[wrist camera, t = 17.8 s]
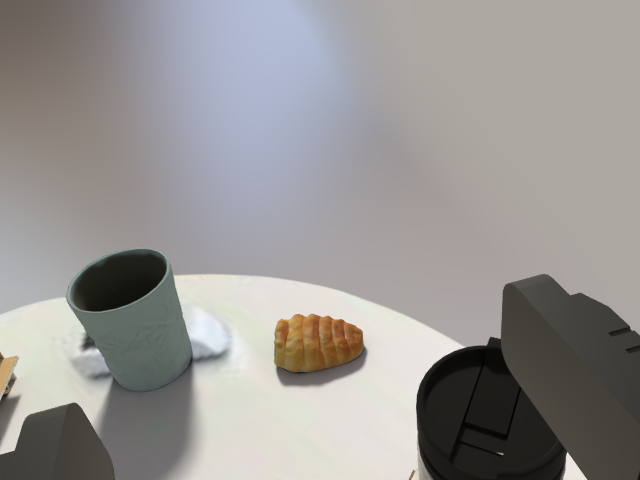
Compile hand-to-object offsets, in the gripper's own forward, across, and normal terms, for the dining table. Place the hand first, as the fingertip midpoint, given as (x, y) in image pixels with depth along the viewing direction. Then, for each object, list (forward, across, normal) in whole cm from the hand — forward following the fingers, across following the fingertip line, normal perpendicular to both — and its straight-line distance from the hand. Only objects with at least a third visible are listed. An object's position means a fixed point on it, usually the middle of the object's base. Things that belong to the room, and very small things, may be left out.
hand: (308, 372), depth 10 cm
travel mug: (+7, +7, -31) cm, 33 cm away
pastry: (+35, +2, -34) cm, 49 cm away
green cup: (+39, -15, -33) cm, 54 cm away
